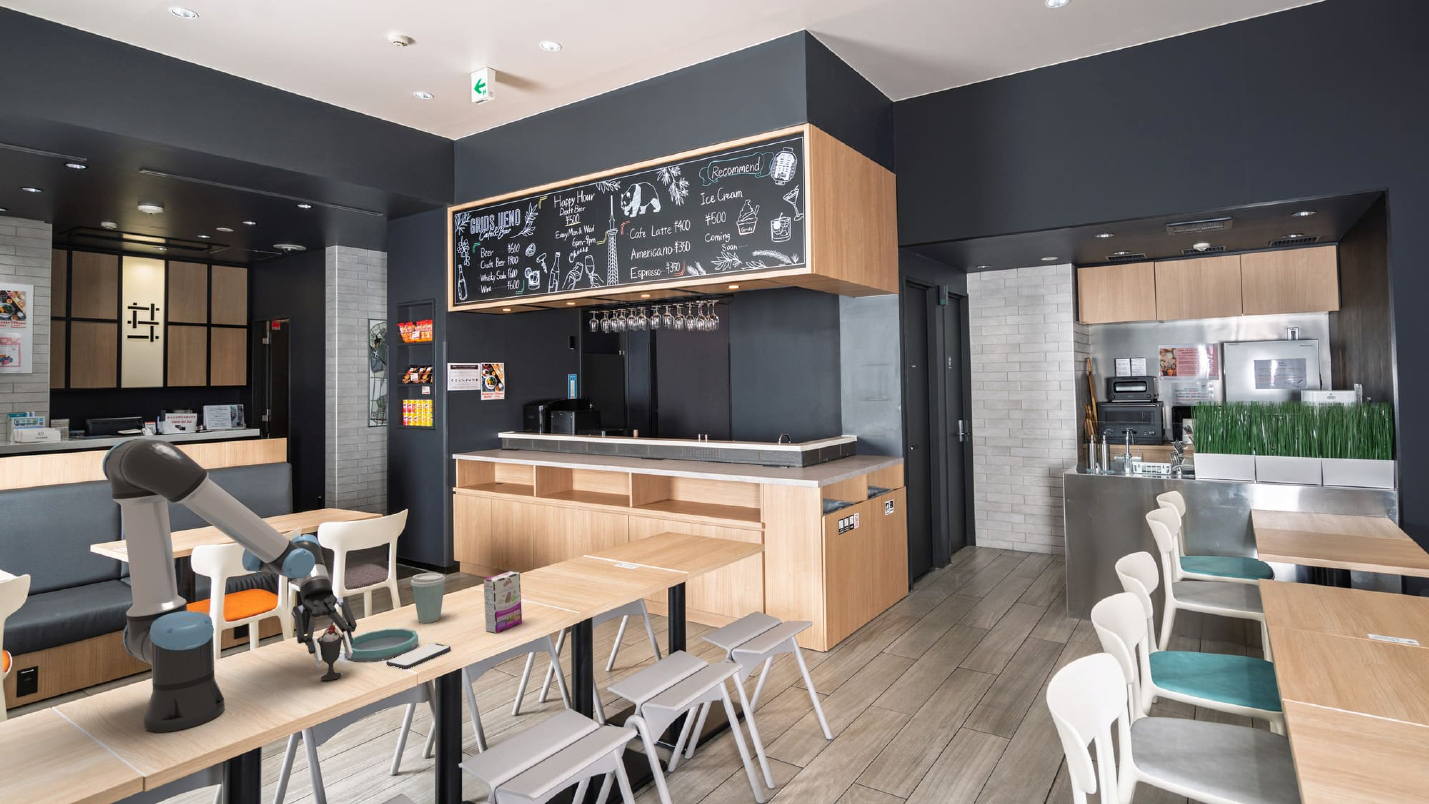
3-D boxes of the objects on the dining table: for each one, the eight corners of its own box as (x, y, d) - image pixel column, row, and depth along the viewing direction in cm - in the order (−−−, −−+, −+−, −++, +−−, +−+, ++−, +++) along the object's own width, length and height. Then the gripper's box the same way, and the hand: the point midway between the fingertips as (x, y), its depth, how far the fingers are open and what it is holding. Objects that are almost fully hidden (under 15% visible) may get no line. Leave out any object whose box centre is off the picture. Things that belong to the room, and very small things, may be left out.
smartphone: (406, 672, 195) (453, 651, 210) (406, 666, 195) (452, 646, 210) (384, 667, 200) (431, 647, 214) (383, 661, 200) (431, 641, 214)
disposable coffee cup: (438, 613, 246) (437, 569, 246) (452, 620, 238) (451, 574, 238) (406, 621, 239) (405, 575, 238) (420, 628, 231) (418, 580, 231)
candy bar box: (511, 621, 235) (509, 570, 235) (522, 623, 233) (521, 572, 233) (484, 631, 226) (482, 578, 225) (496, 634, 223) (494, 580, 223)
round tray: (373, 666, 199) (373, 655, 199) (330, 655, 208) (330, 645, 208) (431, 644, 215) (431, 634, 215) (389, 635, 225) (389, 625, 225)
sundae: (333, 682, 187) (332, 623, 187) (310, 680, 188) (309, 622, 188) (351, 672, 193) (350, 616, 193) (329, 671, 195) (328, 615, 195)
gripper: (349, 586, 209) (371, 657, 197) (271, 600, 195) (290, 677, 183) (355, 570, 205) (377, 642, 193) (276, 584, 191) (295, 661, 180)
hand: (335, 659), depth 188 cm, fingers closed on sundae, 7 cm apart
